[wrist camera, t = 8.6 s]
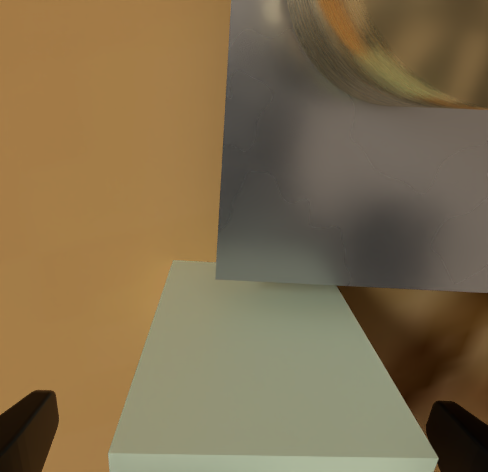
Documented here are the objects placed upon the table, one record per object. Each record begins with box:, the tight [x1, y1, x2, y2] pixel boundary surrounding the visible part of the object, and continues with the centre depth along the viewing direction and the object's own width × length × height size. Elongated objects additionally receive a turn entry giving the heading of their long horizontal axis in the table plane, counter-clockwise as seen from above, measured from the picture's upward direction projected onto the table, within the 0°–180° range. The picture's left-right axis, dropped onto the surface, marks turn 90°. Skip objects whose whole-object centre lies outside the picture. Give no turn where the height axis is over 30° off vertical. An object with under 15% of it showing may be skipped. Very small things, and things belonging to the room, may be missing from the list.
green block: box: [108, 260, 439, 472], centre depth 8 cm, size 4×4×6 cm
